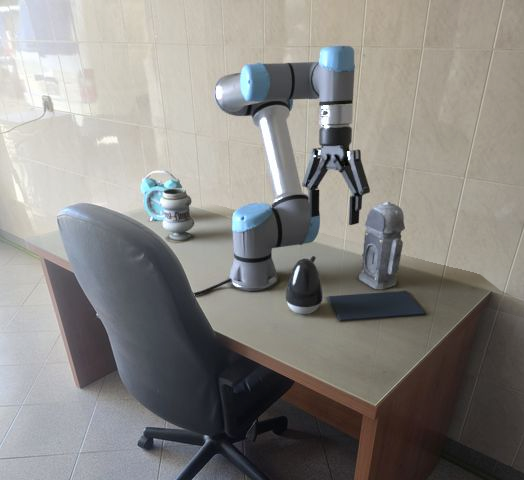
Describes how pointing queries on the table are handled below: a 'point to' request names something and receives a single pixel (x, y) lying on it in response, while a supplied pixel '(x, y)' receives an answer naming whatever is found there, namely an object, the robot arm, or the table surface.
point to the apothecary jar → (177, 214)
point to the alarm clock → (156, 194)
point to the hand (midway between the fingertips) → (333, 220)
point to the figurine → (382, 245)
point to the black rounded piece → (304, 287)
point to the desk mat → (375, 306)
